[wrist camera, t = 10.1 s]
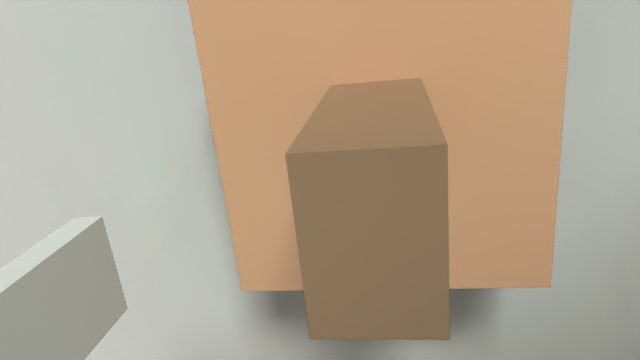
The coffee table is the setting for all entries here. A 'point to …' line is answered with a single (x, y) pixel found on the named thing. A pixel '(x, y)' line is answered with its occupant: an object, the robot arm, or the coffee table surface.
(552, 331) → the coffee table surface
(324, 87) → the cover
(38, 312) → the robot arm
